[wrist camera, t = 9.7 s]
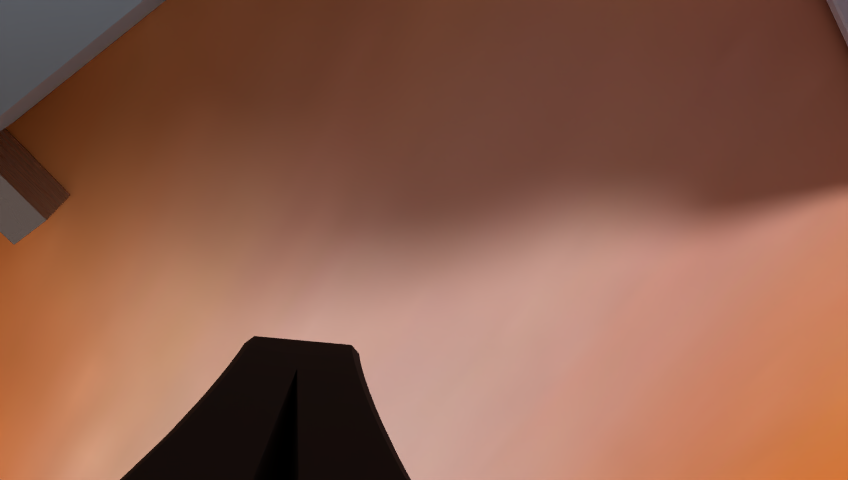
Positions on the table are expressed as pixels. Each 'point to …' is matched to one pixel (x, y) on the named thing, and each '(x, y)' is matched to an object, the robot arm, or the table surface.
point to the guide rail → (24, 190)
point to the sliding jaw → (55, 44)
